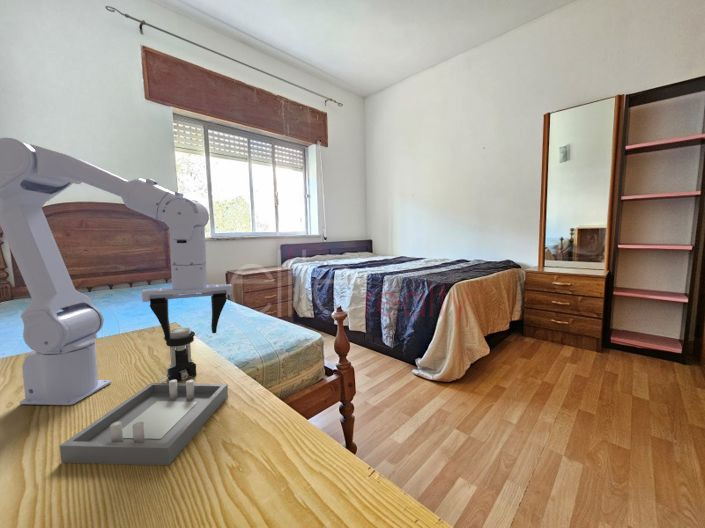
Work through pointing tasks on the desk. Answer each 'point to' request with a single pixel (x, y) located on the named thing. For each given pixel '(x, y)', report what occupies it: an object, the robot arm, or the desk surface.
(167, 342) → the push button
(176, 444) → the pin tray
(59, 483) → the desk surface
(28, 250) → the robot arm
